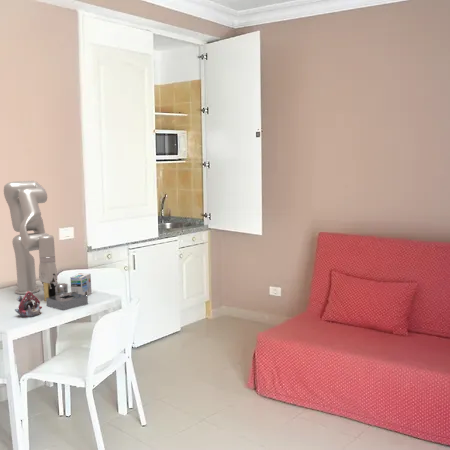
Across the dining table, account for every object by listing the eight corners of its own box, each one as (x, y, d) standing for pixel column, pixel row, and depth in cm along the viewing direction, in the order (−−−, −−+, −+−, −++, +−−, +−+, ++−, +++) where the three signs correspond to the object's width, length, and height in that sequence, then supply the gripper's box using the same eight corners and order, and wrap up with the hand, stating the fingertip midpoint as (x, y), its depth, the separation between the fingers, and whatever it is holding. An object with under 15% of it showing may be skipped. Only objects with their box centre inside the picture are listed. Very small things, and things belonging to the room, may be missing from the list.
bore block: (46, 305, 270) (46, 297, 270) (71, 299, 281) (70, 292, 280) (63, 310, 261) (62, 301, 261) (87, 303, 272) (87, 295, 271)
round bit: (52, 296, 290) (52, 284, 290) (63, 294, 295) (63, 282, 294) (59, 297, 286) (58, 286, 285) (70, 295, 290) (69, 284, 290)
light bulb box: (83, 298, 284) (81, 277, 283) (71, 297, 286) (69, 277, 285) (92, 293, 295) (90, 273, 294) (80, 292, 296) (79, 273, 295)
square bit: (44, 300, 281) (43, 279, 279) (51, 299, 284) (50, 278, 282) (48, 301, 278) (47, 280, 277) (56, 300, 281) (54, 278, 280)
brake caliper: (28, 314, 246) (16, 291, 249) (17, 326, 252) (6, 304, 255) (49, 308, 256) (37, 286, 259) (38, 320, 261) (27, 298, 264)
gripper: (31, 259, 281) (34, 294, 283) (50, 262, 270) (52, 299, 272) (45, 257, 287) (47, 291, 289) (63, 260, 276) (65, 296, 278)
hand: (49, 295), depth 281 cm, fingers closed on square bit, 4 cm apart
